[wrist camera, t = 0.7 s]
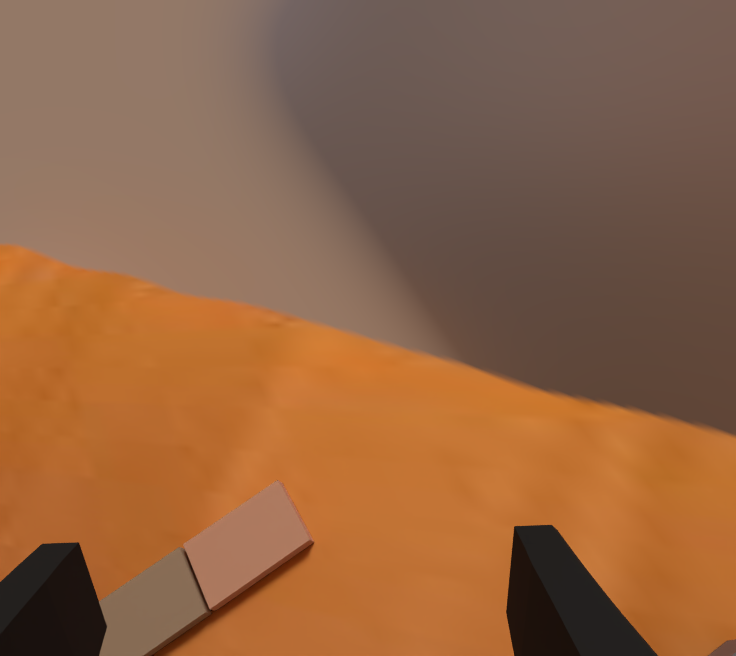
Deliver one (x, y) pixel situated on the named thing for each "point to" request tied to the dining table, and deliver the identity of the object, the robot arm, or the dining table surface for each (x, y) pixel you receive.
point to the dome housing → (725, 649)
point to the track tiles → (203, 574)
